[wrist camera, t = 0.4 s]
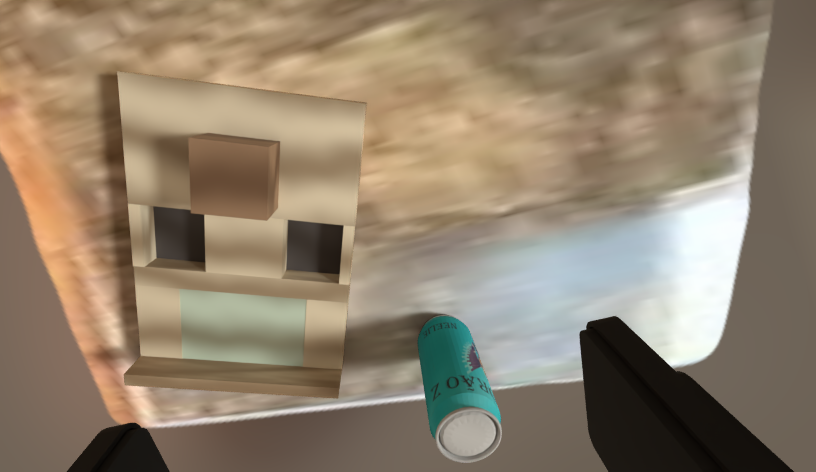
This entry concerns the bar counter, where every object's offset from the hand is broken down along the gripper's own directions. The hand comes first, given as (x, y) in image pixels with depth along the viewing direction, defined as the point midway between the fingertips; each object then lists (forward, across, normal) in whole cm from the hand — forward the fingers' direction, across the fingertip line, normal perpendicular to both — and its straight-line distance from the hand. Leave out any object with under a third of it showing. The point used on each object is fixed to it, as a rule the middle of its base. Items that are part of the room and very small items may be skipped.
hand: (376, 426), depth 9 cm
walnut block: (+31, +12, -3) cm, 33 cm away
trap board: (+34, +14, +4) cm, 36 cm away
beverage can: (+34, -2, +19) cm, 39 cm away
